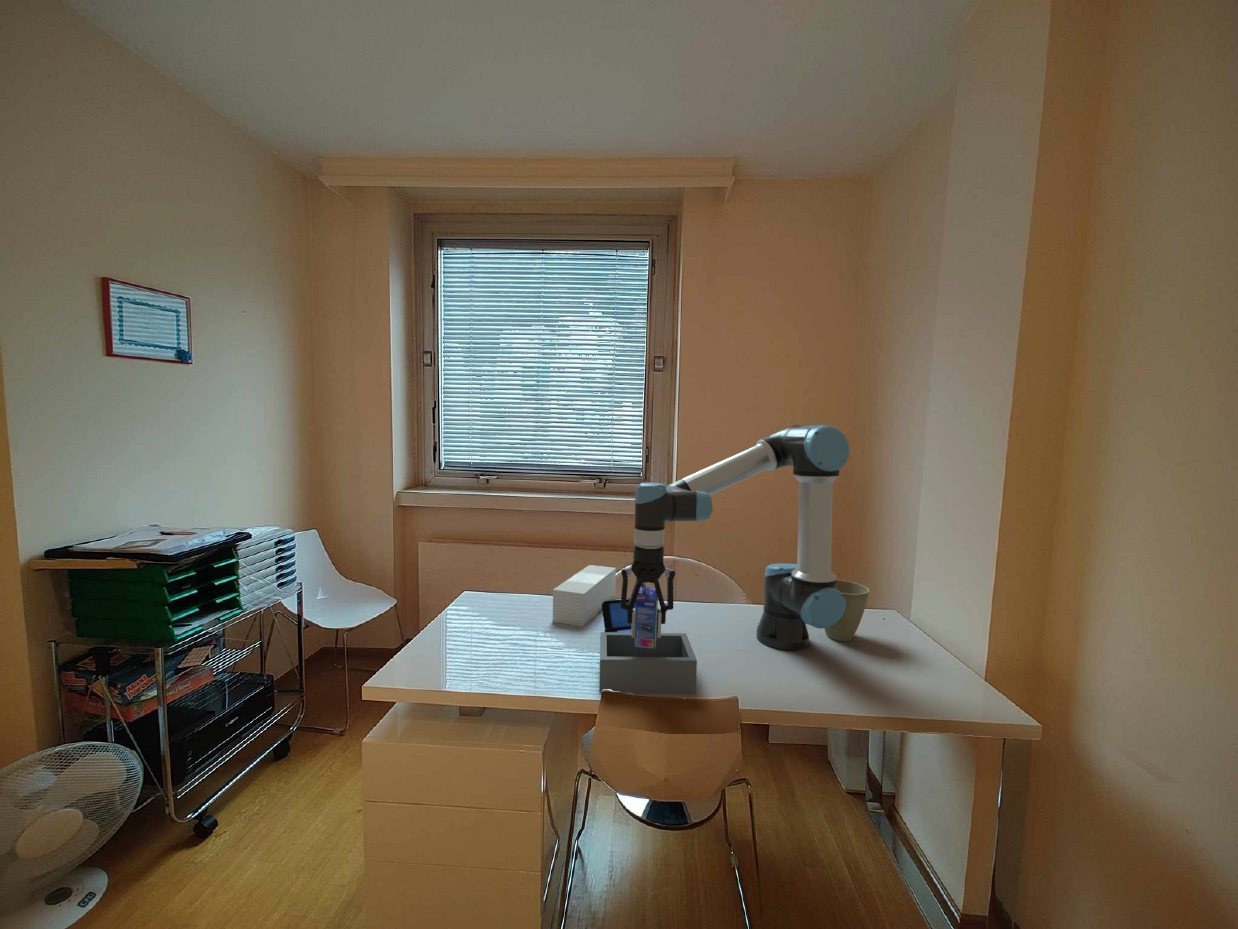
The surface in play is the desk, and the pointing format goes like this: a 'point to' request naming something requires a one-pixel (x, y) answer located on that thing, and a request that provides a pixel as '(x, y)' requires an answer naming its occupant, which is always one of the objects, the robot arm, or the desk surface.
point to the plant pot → (849, 611)
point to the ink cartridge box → (646, 618)
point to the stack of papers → (583, 595)
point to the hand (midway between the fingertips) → (645, 635)
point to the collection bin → (647, 664)
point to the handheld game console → (615, 617)
